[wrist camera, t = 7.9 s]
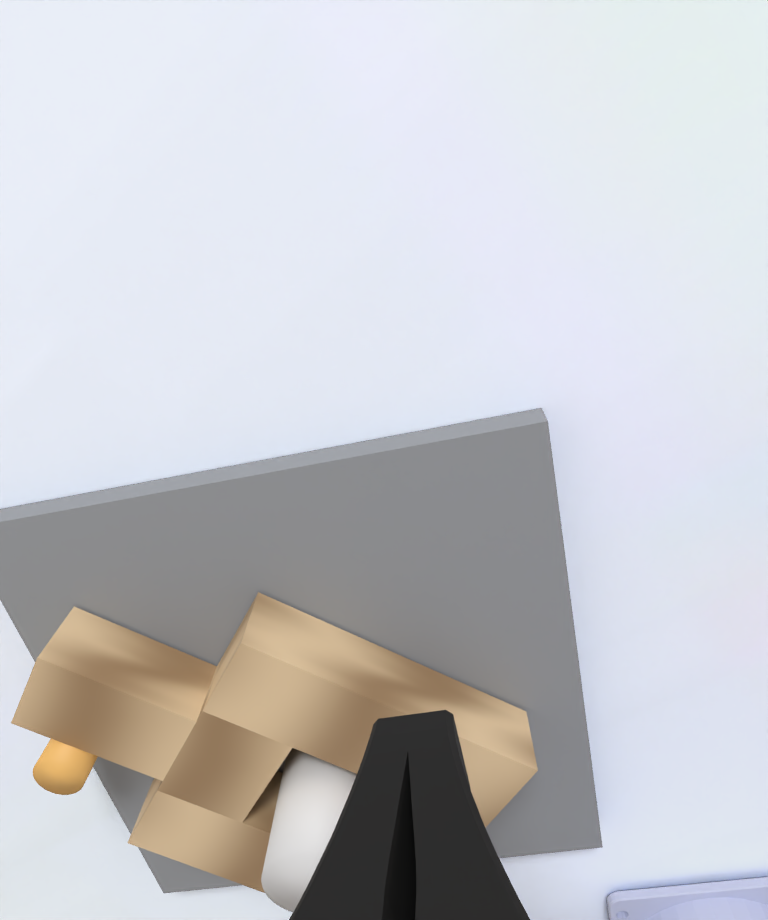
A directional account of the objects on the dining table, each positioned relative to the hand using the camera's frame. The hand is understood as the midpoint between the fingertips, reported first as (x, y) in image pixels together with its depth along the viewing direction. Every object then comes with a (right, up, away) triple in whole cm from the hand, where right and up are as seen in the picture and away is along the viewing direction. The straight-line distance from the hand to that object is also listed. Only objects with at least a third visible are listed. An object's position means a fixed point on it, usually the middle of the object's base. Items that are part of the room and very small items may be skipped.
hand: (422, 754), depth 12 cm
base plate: (-3, -3, +12) cm, 13 cm away
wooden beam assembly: (-5, -4, +12) cm, 13 cm away
